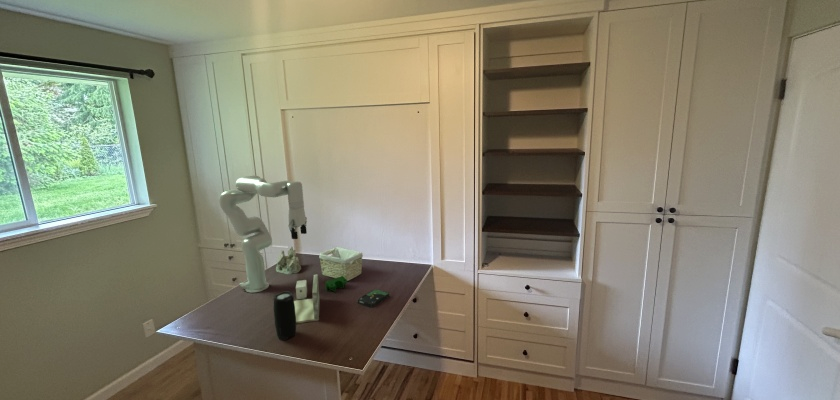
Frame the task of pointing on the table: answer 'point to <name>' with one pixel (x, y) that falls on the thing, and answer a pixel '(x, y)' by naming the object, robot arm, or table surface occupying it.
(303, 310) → the curved railed panel
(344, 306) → the table surface
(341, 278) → the clamp
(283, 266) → the ceramic cottage
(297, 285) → the mini cabinet
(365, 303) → the disk drive
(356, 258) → the storage basket
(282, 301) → the portable speaker
